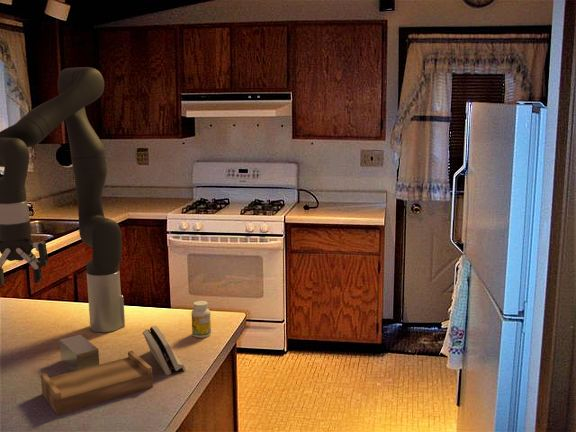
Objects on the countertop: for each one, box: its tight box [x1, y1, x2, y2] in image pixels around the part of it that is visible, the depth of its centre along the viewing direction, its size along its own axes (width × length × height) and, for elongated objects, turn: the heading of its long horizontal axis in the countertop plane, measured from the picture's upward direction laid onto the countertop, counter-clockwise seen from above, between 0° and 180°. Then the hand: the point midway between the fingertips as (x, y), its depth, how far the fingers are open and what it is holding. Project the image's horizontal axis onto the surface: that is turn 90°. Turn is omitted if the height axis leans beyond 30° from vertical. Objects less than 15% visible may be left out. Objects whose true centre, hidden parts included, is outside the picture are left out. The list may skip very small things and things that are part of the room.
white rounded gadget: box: [142, 325, 187, 376], centre depth 158 cm, size 17×5×10 cm, turn 26°
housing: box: [59, 334, 100, 372], centre depth 156 cm, size 6×12×6 cm, turn 39°
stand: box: [40, 350, 154, 416], centre depth 143 cm, size 12×22×5 cm, turn 126°
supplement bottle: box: [191, 300, 212, 339], centre depth 176 cm, size 5×5×10 cm
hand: (19, 283), depth 153 cm, fingers open, 8 cm apart
